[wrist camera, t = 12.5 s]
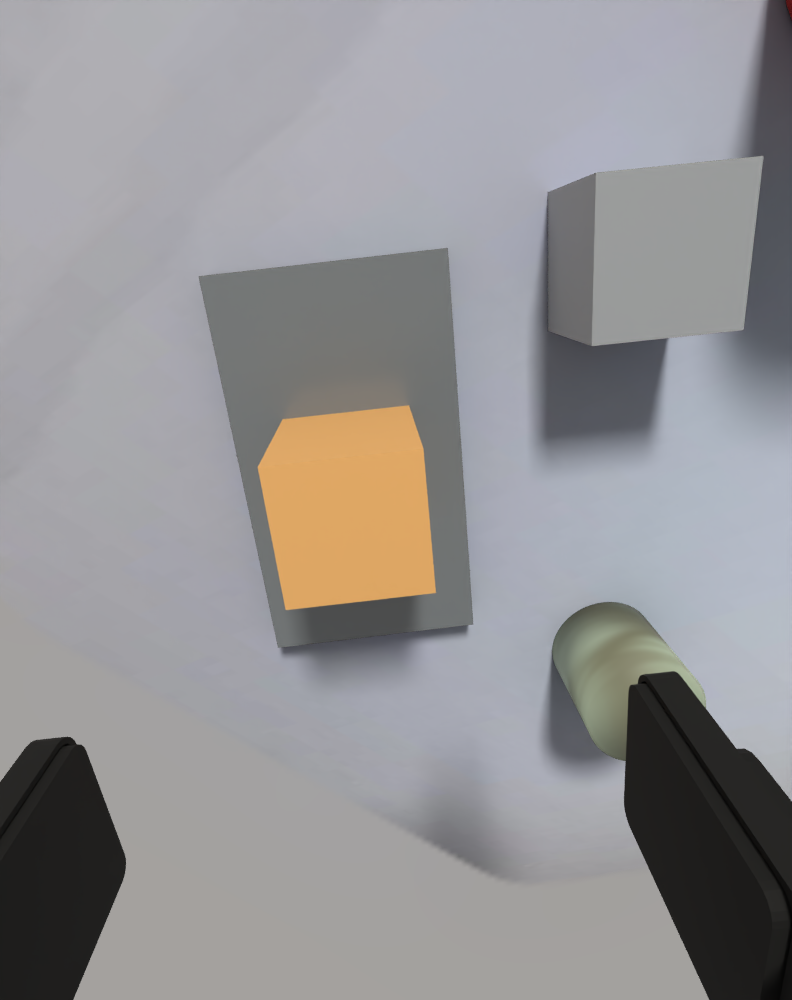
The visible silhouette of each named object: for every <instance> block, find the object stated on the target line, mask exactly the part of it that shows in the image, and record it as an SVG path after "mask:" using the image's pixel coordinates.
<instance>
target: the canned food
mask: <svg viewBox="0 0 792 1000" xmlns="http://www.w3.org/2000/svg"><path fill="white" fill-rule="evenodd" d="M786 4H787V8H788V10H789V13H790V16H791V19H792V0H786Z"/></svg>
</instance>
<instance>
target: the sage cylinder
mask: <svg viewBox="0 0 792 1000" xmlns="http://www.w3.org/2000/svg"><path fill="white" fill-rule="evenodd" d="M552 655H553V660H554V664H555V666H556V668H557V670H558V672H559V674H560V676H561V678H562V680H563V682H564V684H565V686H566V688H567V690H568V692H569V694H570V696H571V698H572V700H573V702H574V704H575V706H576V708H577V710H578V712H579V714H580V716H581V718H582V720H583V722H584V724H585V726H586V728H587V730H588V732H589V734H590V736H591V738H592V740H593V741H594V743H595V745H596V746H597V747H598V748H599V749H600V750H601V751H603V752H604V753H605V754H607V755H609V756H611V757H613V758H615V759H619V760H623V761H626V741H627V716H628V692H629V687H630V685H634V684H638V679H639V677H640V675H643V674H652V673H661V672H670V671H675V672H677V673H678V674H679V675H680V676H681V677H682V678H683V679H684V681H685V682H686V683H687V685H688V686H689V687H690V689H691V690H692V691H693V693H694V694H695V695H696V696H697V698H698V699H699V700H700V702H701V703H702V704H703V706H704V707H705V708H706V698H705V694H704V691H703V689H702V687H701V685H700V684H699V682H698V681H697V680H696V678H695V677H694V676H693V675H692V674H691V672H690V671H689V670H688V669H687V668H686V666H685V665H684V664H683V663H682V662H681V660H680V659H679V658H678V657H677V656H676V654H675V653H674V652H673V651H672V650H671V648H670V647H669V646H668V645H667V644H666V642H665V641H664V640H663V639H662V638H661V636H660V635H659V634H658V633H657V632H656V630H655V629H654V628H653V627H652V626H651V624H650V623H649V622H648V621H647V620H646V618H645V617H644V616H643V615H642V614H641V613H640V612H639V611H637V610H636V609H635V608H633V607H631V606H628V605H625V604H622V603H616V602H603V603H597V604H594V605H590V606H588V607H585V608H583V609H581V610H579V611H577V612H576V613H574V614H573V615H572V616H571V617H569V618H568V619H567V620H566V621H565V622H564V623H563V625H562V626H561V627H560V629H559V630H558V632H557V634H556V636H555V639H554V642H553V648H552Z"/></svg>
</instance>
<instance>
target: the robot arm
mask: <svg viewBox="0 0 792 1000" xmlns="http://www.w3.org/2000/svg"><path fill="white" fill-rule="evenodd" d="M624 807H625V813H626V817H627V820H628V823H629V826H630V828H631V830H632V833H633V835H634V837H635V839H636V841H637V843H638V846H639V848H640V850H641V852H642V854H643V856H644V859H645V861H646V863H647V865H648V867H649V870H650V872H651V874H652V876H653V878H654V880H655V883H656V885H657V887H658V889H659V891H660V893H661V896H662V897H663V900H664V902H665V904H666V906H667V908H668V910H669V913H670V915H671V917H672V920H673V922H674V924H675V926H676V928H677V930H678V933H679V935H680V937H681V939H682V941H683V943H684V946H685V948H686V950H687V952H688V954H689V956H690V959H691V961H692V963H693V965H694V967H695V969H696V972H697V974H698V976H699V978H700V980H701V983H702V985H703V987H704V989H705V991H706V993H707V996H708V998H709V1000H792V801H791V800H790V799H789V798H788V796H787V795H786V794H785V792H784V791H783V790H782V789H781V787H780V786H779V785H778V784H777V782H776V781H775V780H774V778H773V777H772V776H771V775H770V773H769V772H768V771H767V770H766V768H765V767H764V766H763V765H762V763H761V762H760V761H759V760H758V759H757V758H756V757H755V756H754V755H753V753H752V752H750V751H748V750H746V749H736V748H735V746H734V745H733V744H732V743H731V741H730V740H729V739H728V737H727V736H726V735H725V733H724V732H723V731H722V729H721V728H720V727H719V725H718V724H717V723H716V721H715V720H714V719H713V718H712V716H711V715H710V714H709V712H708V711H707V710H706V708H705V707H704V706H703V704H702V703H701V702H700V700H699V699H698V698H697V696H696V695H695V694H694V693H693V691H692V690H691V689H690V687H689V686H688V685H687V683H686V682H685V681H684V679H683V678H682V677H681V676H680V675H679V674H678V673H677V672H675V671H670V672H661V673H652V674H643V675H640V677H639V679H638V684H634V685H630V687H629V692H628V716H627V741H626V766H625V791H624ZM125 869H126V858H125V854H124V852H123V849H122V846H121V844H120V840H119V838H118V835H117V832H116V830H115V827H114V824H113V822H112V819H111V816H110V814H109V811H108V808H107V806H106V803H105V801H104V798H103V795H102V792H101V790H100V787H99V784H98V782H97V779H96V776H95V774H94V771H93V768H92V765H91V763H90V760H89V757H88V755H87V752H86V750H85V748H84V747H83V746H82V745H77V744H76V743H75V741H74V740H73V739H72V738H71V737H61V738H52V739H43V740H35V741H33V742H31V743H30V744H29V745H28V746H27V747H26V748H25V749H24V751H23V752H22V753H21V755H20V756H19V757H18V759H17V760H16V761H15V763H14V764H13V766H12V767H11V768H10V770H9V771H8V772H7V774H6V775H5V776H4V778H3V779H2V780H1V782H0V1000H73V999H74V996H75V994H76V992H77V989H78V987H79V984H80V982H81V979H82V977H83V975H84V972H85V970H86V968H87V965H88V963H89V960H90V958H91V955H92V953H93V951H94V948H95V946H96V944H97V941H98V939H99V936H100V934H101V932H102V929H103V927H104V924H105V922H106V919H107V917H108V915H109V913H110V910H111V908H112V905H113V903H114V900H115V898H116V895H117V893H118V891H119V888H120V886H121V884H122V881H123V878H124V874H125Z"/></svg>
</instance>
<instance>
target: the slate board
mask: <svg viewBox="0 0 792 1000" xmlns="http://www.w3.org/2000/svg"><path fill="white" fill-rule="evenodd" d="M199 280H200V285H201V290H202V294H203V299H204V304H205V308H206V313H207V318H208V322H209V327H210V332H211V336H212V341H213V346H214V350H215V355H216V360H217V364H218V369H219V374H220V378H221V383H222V388H223V392H224V397H225V402H226V406H227V411H228V416H229V420H230V425H231V430H232V434H233V439H234V444H235V448H236V453H237V458H238V463H239V467H240V472H241V477H242V481H243V486H244V491H245V495H246V500H247V505H248V509H249V514H250V519H251V523H252V528H253V533H254V537H255V542H256V547H257V551H258V556H259V561H260V565H261V570H262V575H263V579H264V584H265V589H266V593H267V598H268V603H269V607H270V612H271V617H272V621H273V626H274V631H275V635H276V640H277V645H278V648H281V647H289V646H298V645H306V644H314V643H323V642H331V641H339V640H347V639H356V638H364V637H372V636H381V635H389V634H397V633H406V632H414V631H422V630H430V629H439V628H447V627H455V626H464V625H472V624H473V613H472V598H471V584H470V569H469V554H468V540H467V525H466V510H465V495H464V481H463V466H462V451H461V437H460V422H459V407H458V393H457V378H456V363H455V349H454V334H453V319H452V304H451V290H450V275H449V260H448V248H444V249H435V250H426V251H418V252H409V253H400V254H391V255H383V256H374V257H365V258H356V259H347V260H339V261H330V262H321V263H312V264H304V265H295V266H286V267H277V268H268V269H260V270H251V271H242V272H233V273H225V274H216V275H207V276H199ZM408 405H409V407H410V410H411V413H412V416H413V419H414V422H415V425H416V428H417V431H418V434H419V437H420V440H421V443H422V446H423V449H424V461H425V472H426V484H427V495H428V507H429V518H430V530H431V542H432V553H433V565H434V576H435V588H436V593H431V594H423V595H414V596H405V597H396V598H388V599H379V600H370V601H362V602H353V603H344V604H335V605H327V606H318V607H309V608H301V609H292V610H286V609H285V604H284V599H283V594H282V589H281V584H280V579H279V574H278V569H277V563H276V558H275V553H274V548H273V543H272V538H271V533H270V528H269V523H268V518H267V512H266V507H265V502H264V497H263V492H262V487H261V482H260V477H259V472H258V466H259V464H260V462H261V460H262V458H263V456H264V454H265V452H266V450H267V448H268V446H269V444H270V443H271V441H272V439H273V437H274V435H275V433H276V431H277V429H278V427H279V425H280V423H281V421H282V419H290V418H299V417H308V416H317V415H326V414H336V413H345V412H354V411H363V410H372V409H381V408H390V407H399V406H408Z"/></svg>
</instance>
